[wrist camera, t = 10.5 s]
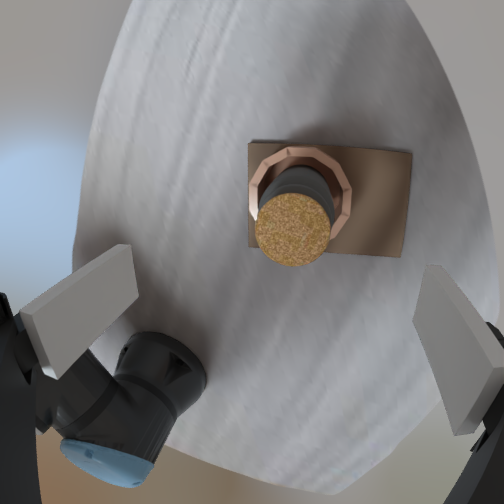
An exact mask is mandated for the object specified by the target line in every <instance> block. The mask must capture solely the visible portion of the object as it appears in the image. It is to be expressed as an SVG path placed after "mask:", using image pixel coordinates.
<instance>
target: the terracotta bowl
mask: <svg viewBox="0 0 504 504" xmlns="http://www.w3.org/2000/svg"><path fill="white" fill-rule="evenodd" d="M299 164H303V165H308V166H311V167H313V168H315V169H317V170H318V171H319V172H320V173H321V174H322V175H323V176H324V178H325V180H326V182H327V184H328V187H329V190H330V193H331V196H332V199H333V203H334V210H335V216H334V223H333V226H332V229H331V235H330V240H331V239H333V238H335V237H336V235H337V234H338V232H339V231H340V229H341V228H342V227H343V225H344V224H345V222H346V221H347V219H348V218H349V217H350V209H351V195H352V188H351V186H350V184H349V182H348V180H347V178H346V176H345V174H344V172H343V170H342V168H341V166H340V164H339V163H338V162H337V160H335V159H334V158H332V157H330V156H329V155H327V154H326V153H324V152H323V151H321V150H320V149H318V148H316V147H306V146H289V147H287V148H285V149H283V150H281V151H279V152H277V153H275V154H274V155H272V156H270V157H268V158H266V159H264V160H263V161H262V162H261V164H260V166H259V167H258V169H257V171H256V173H255V174H254V176H253V178H252V179H251V181H250V183H249V211H250V212H251V214H252V216H253V217H254V219H255V221H256V218H257V214H258V209H259V203H260V200H261V197H262V195H263V193H264V192H265V190H266V189H267V188H268V186H269V185H270V184H271V183H272V182H273V181H274V179H275V178H276V177H277V176H278V175H279V174H280V173H281V172H282V171H284V170H285V169H286V168H288V167H291V166H293V165H299Z"/></svg>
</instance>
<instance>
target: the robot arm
mask: <svg viewBox="0 0 504 504" xmlns="http://www.w3.org/2000/svg"><path fill="white" fill-rule="evenodd" d="M138 297H139V294H138V288H137V282H136V276H135V270H134V263H133V256H132V249H131V245H125V244H117V245H116V246H114V247H112V248H111V249H109V250H108V251H106V252H104V253H103V254H101V255H100V256H98V257H97V258H95V259H93V260H92V261H90V262H89V263H87V264H86V265H84V266H83V267H81V268H80V269H78V270H77V271H75V272H74V273H72V274H71V275H69V276H68V277H66V278H65V279H63V280H62V281H60V282H59V283H58V284H56V285H54V286H53V287H51V288H50V289H49V290H47V291H46V292H44V293H43V294H41V295H40V296H39V297H38V298H36V299H34V300H33V301H32V302H30V303H29V304H27V305H26V306H25V307H23V308H22V309H20V310H19V313H18V314H16V315H15V316H14V317H13V314H12V311H11V308H10V305H9V302H8V299H7V296H6V295H5V293H1V292H0V504H42V502H41V495H40V487H39V478H38V467H37V454H36V434H38V435H43V434H44V433H45V432H46V431H47V430H48V429H49V428H50V427H53V428H54V429H55V430H56V431H57V432H58V433H59V434H60V435H61V436H62V437H63V438H64V439H63V440H62V441H61V445H60V449H61V452H62V453H63V454H64V455H65V456H66V457H67V458H68V459H69V460H70V461H71V462H72V463H74V464H75V465H76V466H78V467H79V468H81V469H82V470H84V471H86V472H87V473H89V474H91V475H93V476H95V477H97V478H99V479H101V480H103V481H106V482H108V483H111V484H114V485H117V486H121V487H128V488H133V487H137V486H139V485H141V484H142V483H143V482H144V480H145V479H146V477H147V475H148V474H149V473H150V471H151V470H152V469H153V468H154V463H155V461H156V459H157V457H158V455H159V453H160V451H161V449H162V447H163V445H164V443H165V441H166V439H167V437H168V435H169V433H170V431H171V429H172V427H173V425H174V423H175V421H176V420H177V418H178V417H179V416H180V415H181V414H182V413H184V412H185V411H186V410H187V409H188V408H189V407H190V406H191V405H193V404H194V403H195V402H196V401H197V400H198V399H199V398H200V396H201V394H202V392H203V390H204V388H205V384H206V375H205V371H204V369H203V367H202V365H201V363H200V361H199V360H198V359H197V357H196V356H195V355H194V354H193V353H192V352H191V351H190V350H189V349H188V348H187V347H185V346H184V345H183V344H181V343H180V342H178V341H176V340H175V339H173V338H171V337H168V336H166V335H163V334H160V333H155V332H142V333H138V334H136V335H134V336H132V337H131V338H130V339H129V340H128V342H127V343H126V344H125V345H124V346H123V348H122V350H121V353H120V356H119V359H118V363H117V366H116V369H115V373H114V376H113V377H112V375H111V374H110V373H109V372H108V371H107V370H106V369H105V367H104V366H103V365H102V364H101V363H100V362H99V361H98V359H97V358H96V357H95V356H94V354H93V353H92V352H91V351H90V350H89V347H90V346H91V345H92V343H93V342H94V341H95V340H96V339H97V338H98V337H99V336H100V335H101V334H102V333H103V332H104V331H105V330H106V329H107V328H108V327H109V326H110V325H111V324H112V323H113V322H114V321H115V320H116V319H117V318H118V317H119V316H120V315H121V314H122V313H123V312H124V311H125V310H126V309H127V308H128V307H129V306H130V305H131V304H132V303H133V302H134V301H135V300H136V299H137V298H138ZM413 323H414V326H415V328H416V330H417V333H418V335H419V338H420V340H421V343H422V345H423V347H424V350H425V353H426V355H427V358H428V360H429V363H430V366H431V368H432V371H433V374H434V376H435V379H436V382H437V385H438V388H439V391H440V394H441V396H442V399H443V402H444V405H445V409H446V411H447V415H448V418H449V421H450V424H451V428H452V431H453V435H454V436H457V435H464V434H470V433H474V432H475V430H476V429H477V427H478V426H479V424H480V423H481V421H482V420H483V423H484V426H485V428H486V430H485V431H484V432H483V434H482V435H481V436H480V438H479V439H478V440H477V442H476V443H475V444H474V446H473V447H472V449H471V450H470V451H472V452H473V453H472V455H471V457H470V459H469V461H468V462H467V465H466V466H465V468H464V470H463V472H462V473H461V476H460V477H459V479H458V481H457V482H456V484H455V486H454V487H453V489H452V490H451V492H450V494H449V495H448V497H447V498H446V500H445V502H444V503H443V504H504V337H503V335H502V334H501V332H500V331H499V330H498V329H497V328H496V327H494V326H493V325H492V324H491V323H489V322H485V321H484V320H483V318H482V317H481V316H480V314H479V313H478V312H477V310H476V309H475V308H474V306H473V305H472V304H471V302H470V301H469V300H468V298H467V297H466V296H465V294H464V293H463V292H462V291H461V289H460V288H459V287H458V285H457V284H456V283H455V282H454V280H453V279H452V278H451V277H450V276H449V274H448V273H447V272H446V271H445V269H444V268H443V267H442V266H438V265H426V267H425V272H424V276H423V281H422V285H421V290H420V294H419V298H418V302H417V306H416V310H415V314H414V317H413ZM473 450H474V451H473Z"/></svg>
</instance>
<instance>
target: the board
mask: <svg viewBox="0 0 504 504" xmlns="http://www.w3.org/2000/svg"><path fill="white" fill-rule="evenodd" d="M289 146H306V147H316V148H318V149H320V150H321V151H323V152H324V153H326V154H327V155H329V156H330V157H332V158H334V159H335V160H337V162H338V163H339V164H340V166H341V168H342V170H343V172H344V174H345V176H346V178H347V180H348V182H349V184H350V186H351V188H352V195H351V209H350V217H349V218H348V219H347V221H346V222H345V224H344V225H343V227H342V228H341V229H340V231H339V232H338V234H337V235H336V237H335V238H333V239H331V240H329V243H328V245H327V247H326V249H325V250H324V252H328V253H343V254H357V255H371V256H385V257H399V258H400V257H401V251H402V245H403V238H404V231H405V224H406V216H407V207H408V198H409V188H410V176H411V162H412V154H410V153H403V152H395V151H387V150H377V149H367V148H356V147H344V146H329V145H311V144H284V143H248V230H249V247H255V248H260V247H259V245H258V242H257V240H256V236H255V219H254V217H253V216H252V214H251V212H250V211H249V183H250V181H251V179H252V178H253V176H254V174H255V173H256V171H257V169H258V167H259V166H260V164H261V162H262V161H263V160H264V159H266V158H268V157H270V156H272V155H274V154H275V153H277V152H279V151H281V150H283V149H285V148H287V147H289Z"/></svg>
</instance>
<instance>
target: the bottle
mask: <svg viewBox="0 0 504 504" xmlns="http://www.w3.org/2000/svg"><path fill="white" fill-rule="evenodd" d="M334 216H335V210H334V203H333V199H332V196H331V193H330V190H329V187H328V184H327V182H326V180H325V178H324V176H323V175H322V174H321V173H320V172H319V171H318V170H317V169H315V168H313V167H311V166H308V165H303V164H299V165H293V166H291V167H288V168H286V169H285V170H284V171H282V172H281V173H280V174H279V175H278V176H277V177H276V178H275V179H274V181H273V182H272V183H271V184H270V185H269V186H268V188H267V189H266V190H265V192H264V193H263V195H262V197H261V200H260V203H259V209H258V214H257V218H256V221H255V236H256V240H257V242H258V245H259V247H260V248H261V250H262V251H263V252H264V253H265V254H266V255H267V256H268V257H269V258H270V259H271V260H273V261H275V262H277V263H279V264H282V265H286V266H302V265H305V264H308V263H311V262H312V261H314V260H316V259H317V258H318V257H319V256H320V255H321V254H322V253H323V252H324V250H325V249H326V247H327V245H328V243H329V240H330V235H331V229H332V226H333V223H334Z"/></svg>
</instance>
